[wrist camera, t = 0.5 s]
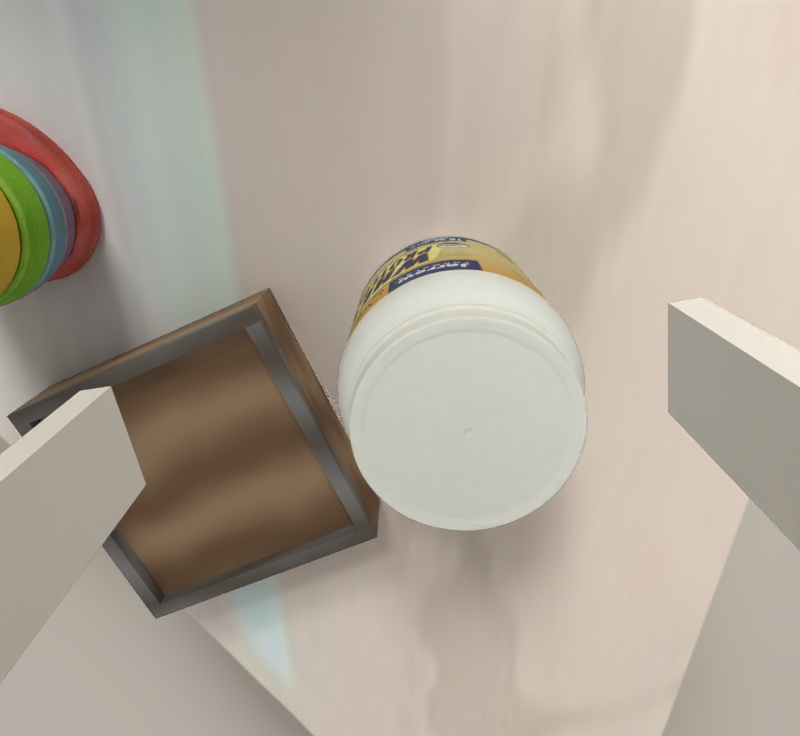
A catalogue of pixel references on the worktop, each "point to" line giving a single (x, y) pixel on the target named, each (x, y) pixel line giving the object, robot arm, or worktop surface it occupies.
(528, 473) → the supplement tub
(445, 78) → the worktop surface
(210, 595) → the square tray
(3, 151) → the stacking bear
